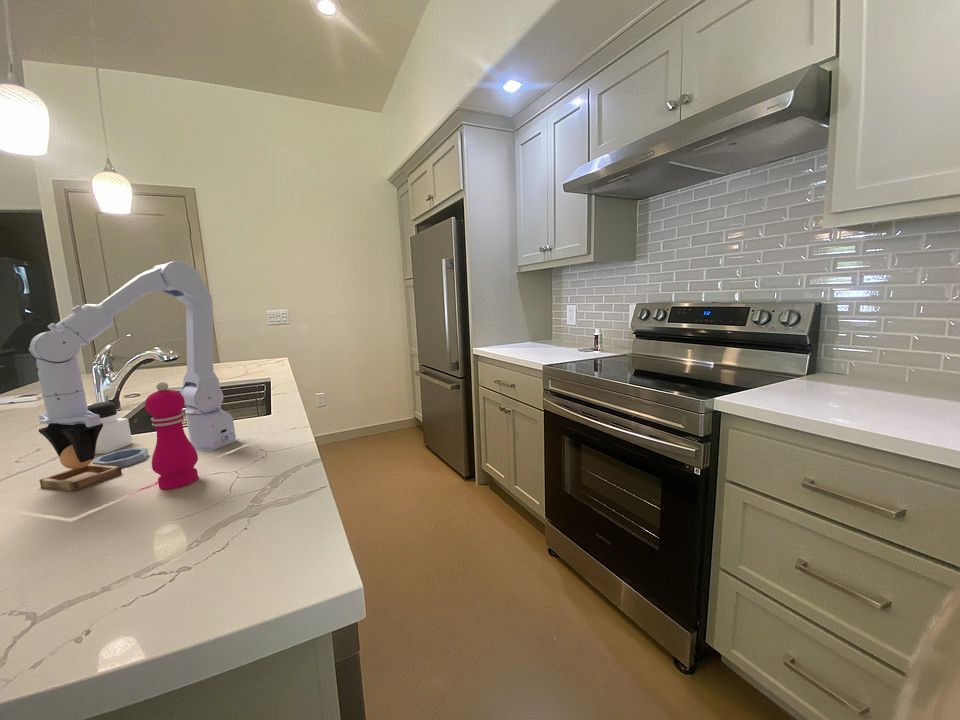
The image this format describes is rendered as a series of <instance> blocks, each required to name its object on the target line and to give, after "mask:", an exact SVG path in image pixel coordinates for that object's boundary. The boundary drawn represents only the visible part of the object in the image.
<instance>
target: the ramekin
mask: <svg viewBox="0 0 960 720" xmlns="http://www.w3.org/2000/svg"><path fill="white" fill-rule="evenodd" d="M148 456H149V450H148V448H144V447H132V448H126V449H122V450H121V449H120V450H114V451H111V452H109V453H105V454H104V455H100V456H98V457H96V458H94V459H93V461H92V462H91V464H98V465H107V466H117V467H121V468H125V467H129V466H132V465H135V464H137V463H141V462H143V461H145V460H146V459H147V457H148Z"/></svg>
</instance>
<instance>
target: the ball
mask: <svg viewBox="0 0 960 720" xmlns="http://www.w3.org/2000/svg"><path fill="white" fill-rule="evenodd" d="M93 461H94V459H91V460H88V461H85V462H80V461H79V460H78V458H77V456H76V453H75V450H74V448H73V445H70V446H68V447H67V448H65V449H64V450H63V451H62V453H61V455H60V457H59V463H60V464H61V465H62V466H63V467H65V468H66V469H68V470H70V469H80V468H83V467H86V466H87V465H89V464H92V462H93Z"/></svg>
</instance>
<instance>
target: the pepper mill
mask: <svg viewBox="0 0 960 720" xmlns="http://www.w3.org/2000/svg"><path fill="white" fill-rule="evenodd" d="M156 390H157V391H154V392H152V393H151V394H149V395H148V397H147V398H146V399H145V402H144V407H145V411H146V412H147V413H148V414H149V415H150V416H152V417H151V418H150V421H151V426H152V427H154V428H155V431H156V443H155V447H154V450H153V453H152V457H151V468H152V471H153V472H154V473H156V474H157V475H159V476H158V478H157V483H158V488H159V489H161V490H173V489H179V488H182V487H185V486H188V485H190V484H192V483H193V484H194V482H196V481H197V480H198V479H199V474H198V468H196V467H195V465H196V464H197V463H198V460H199V456H198V452H197V450H195V448H194V446H193V445H192V444H191V443H190V439H189V438H188V437H187V435H186V433H185V430H184V426H183V421H185V417H184V415H185V414H184V413H183V412H182V410H183V409H184V407H185V400H184V397H183V396H182V394H180V393H179V392H180V391H177V390H174V389H169V385H168V382H165V381H161V382H158V383H157V384H156Z"/></svg>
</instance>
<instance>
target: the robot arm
mask: <svg viewBox="0 0 960 720" xmlns="http://www.w3.org/2000/svg"><path fill="white" fill-rule="evenodd" d="M201 275H202V274H201V272H199V271H198V270H197V269H195V268H194V267H193V266H192V265H191V264H189V263H187V262H185V261H183V260H173V261H170V262H168V263H164V264H156V265H154V267H152V268H151V269H148V270H146V271H143V272H142V273H140V274H138V275H136V276H135V277H133V278H132V279H131V280H129V281H127V282H126V283H125V284H124V285H122V286H121V287H120V288H119V289H117V290H116V291H115V292H113V293H112V294H111V295H109V296H107V297H106V298H105V299H104V300H102V301H101V302H100V303H97V304H94V303H93V304H92V303H85V304H83V305H75V306H74V307H72V308H71V309H70V310H71V311H72V313H70V314H68V315H67V316H65V318H62V319H61V320H60V321H58V322H57V323H54V322H51V323H50V324H49V325H47V328H48V329H50V331H45V332H40V333H39V334H37V335H35V336H33V338H32V339H31V340H30V344H29V347H28V352H30V354H31V355H32V356H33V357H34V358H35V360H36V368H37V369H38V371H37V376H38V380H39V385H40V390H41V393H42V399H43V404H44V406H45V407H44V408H45V412H46V413H42V414H38V418H39V423H40V425H47V426H46V427H42V428H41V427H40V428H39V429H38V432H39V433H40V434H41V435H42V436H43V437H44V438H45V439H46V440H48V441H49V443H50V444H51V446H52V447H53V449H54V450H55V452H56V454H57V456H58V457H59V458H60V455H61V453H62V451H63V450H64V449H65V448H67V447H68V446H70V445H73V448H74V450H75V453H76V456H77V458H78V460H79V461H80V462H85V461H88V460H91V459H93V460H95V455H96V454H95V449H96V443H97V438H98V435H99V433H100V431H101V429H102V427H103V423H101V421H100V416H99V415H97V414H94V413H92V412H90V411H88V407H87V405H88V403H87V399H86V393H85V389H84V383H83V379H82V374H81V369H80V367H79V365H78V360H77V356H78V354H79V353H80V349H81V346H82V347H83V346H86V345H87V344H89V343H91V342H92V341H93V340H95V339H96V338H97V337H99V335H101V334H103V333H104V332H106V331H107V330H108V329H109V328H111V327H112V326H113V325H114V316H115V315H117V314H118V313H121V312H122V311H123V310H125V309H126V308H128V307H129V306H130V305H132V304H133V303H135V302H136V301H138V300H139V299H141V298H142V297H144V296H145V295H148V294H150V293H154V292H159V291H161V292H163V293H165V294H168V295H171V296H173V297H174V298H176V299H177V300H178V301H180V303H182V304H184V305H185V315H186V317H185V320H186V321H185V322H186V324H185V325H186V328H185V329H186V373H185V374H184V376H183V378H182V386H181V389H180V390H179V391H178V392H179V393H180V394H182V396H183V397H184V400H185V405H184V407H185V406H186V407H185V411H184V412H185V418H186V423H187V424H186V425H187V431H188V435H189V441H190V443H191V444H192V445H193V446H194V448H195V450H196V451H206V452H212V451H215V450H217V449H219V448H222V447H225V446H227V445H230V444H232V443H235V442H237V441H239V440H240V439H239V438H236V437H237V436H236V431H235V425H234V424H235V423H234V418H233V416H232V415H231V413H230V412H228V411H225V410H223V409H222V408H221V405H222V403H223V401H224V393H223V391H222V389H221V387H220V380H219V377H218V376H217V375H216V373H215V371H214V334H213V333H214V323H213V321H214V319H213V318H214V316H213V314H214V313H213V297H212V295H211V293H210V292H209V290H208V288H207V287H206V285H205V283H204V281H203V280H202V277H201Z"/></svg>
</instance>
